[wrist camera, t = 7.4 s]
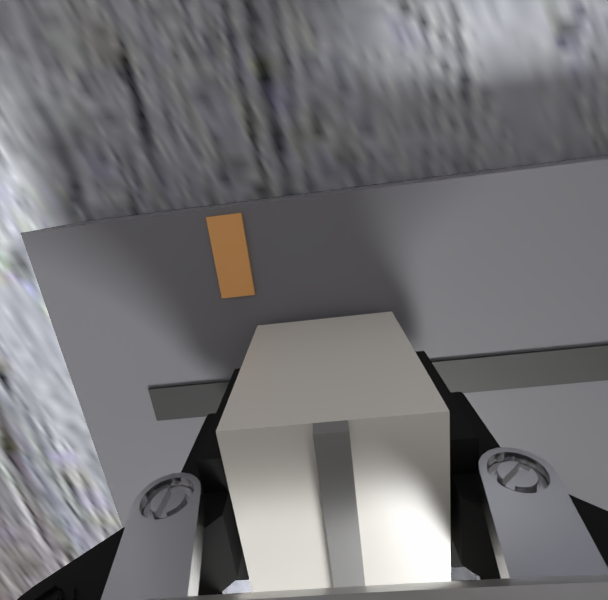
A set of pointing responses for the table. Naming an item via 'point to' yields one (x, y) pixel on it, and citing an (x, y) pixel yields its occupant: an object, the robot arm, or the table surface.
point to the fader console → (345, 306)
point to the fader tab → (338, 457)
